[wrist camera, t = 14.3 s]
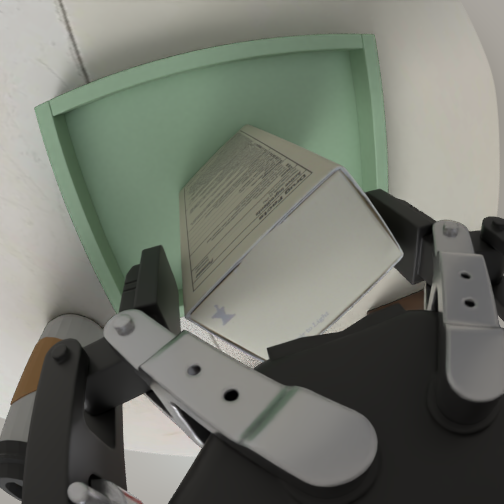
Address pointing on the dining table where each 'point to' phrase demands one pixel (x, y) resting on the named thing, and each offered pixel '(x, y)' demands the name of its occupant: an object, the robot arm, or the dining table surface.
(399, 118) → the dining table surface
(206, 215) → the cosmetic box
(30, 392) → the coffee cup
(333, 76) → the tray
